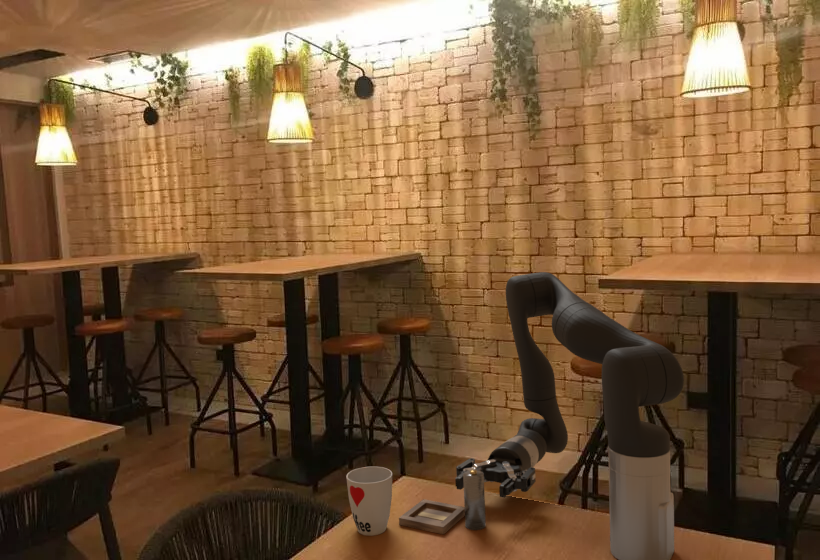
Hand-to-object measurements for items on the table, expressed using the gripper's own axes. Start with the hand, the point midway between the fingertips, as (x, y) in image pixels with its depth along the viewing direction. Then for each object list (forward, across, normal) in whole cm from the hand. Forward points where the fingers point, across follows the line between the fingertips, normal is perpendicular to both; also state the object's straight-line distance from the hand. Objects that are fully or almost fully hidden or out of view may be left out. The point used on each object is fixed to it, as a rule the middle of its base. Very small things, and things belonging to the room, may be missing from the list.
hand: (479, 488), depth 124 cm
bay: (+3, -8, +6) cm, 10 cm away
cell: (+2, 0, +6) cm, 6 cm away
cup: (+11, -16, +6) cm, 21 cm away
